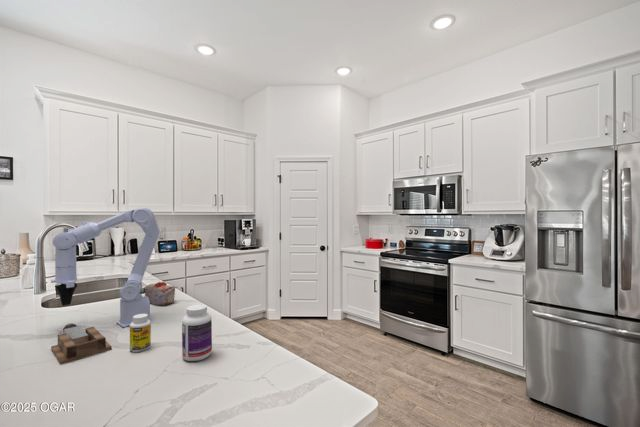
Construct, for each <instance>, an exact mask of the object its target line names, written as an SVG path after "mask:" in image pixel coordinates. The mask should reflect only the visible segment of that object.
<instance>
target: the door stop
mask: <svg viewBox="0 0 640 427" xmlns="http://www.w3.org/2000/svg"><path fill="white" fill-rule="evenodd" d="M62 332H63V334H64V333H66V334H67V335H68V336H69V337H70V339H71V340H72V341H73V342H74V344H75V345H77V344H81V343H85V342H88V334H87V333H86V330H85V329H83V328H82V327H81V326H80V325H78V326H77V325H76V324H75V323H73V322H71V323H68V324H66V325H65V326H63V327H62Z"/></svg>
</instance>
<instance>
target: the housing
mask: <svg viewBox="0 0 640 427" xmlns="http://www.w3.org/2000/svg"><path fill="white" fill-rule="evenodd" d="M85 332H86V333H87V334H88V342H85V343H81V344H77V345H75V344H74V342H73V341H72V340H71V339H70V337H69V336H68V335H67V334H66V333H64V332H63V333H60V334H58V335H57V344H55V345H51V347H50V348H51V351H52V353H53V355H54V356H55V358H56V360H57V362H58V363H59V365H64V364H68V363H70V362H74V361H77V360H81V359H85V358H88V357H91V356H95V355H98V354H101V353H105V352H108V351H111V350H112V345H111V344H110V343H109V342H108V341H106V337H105V336H104V335H103V334H102V333H101V332H100V331H99V330H98V329H97V328H95V327H94V326H90V327H85Z"/></svg>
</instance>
